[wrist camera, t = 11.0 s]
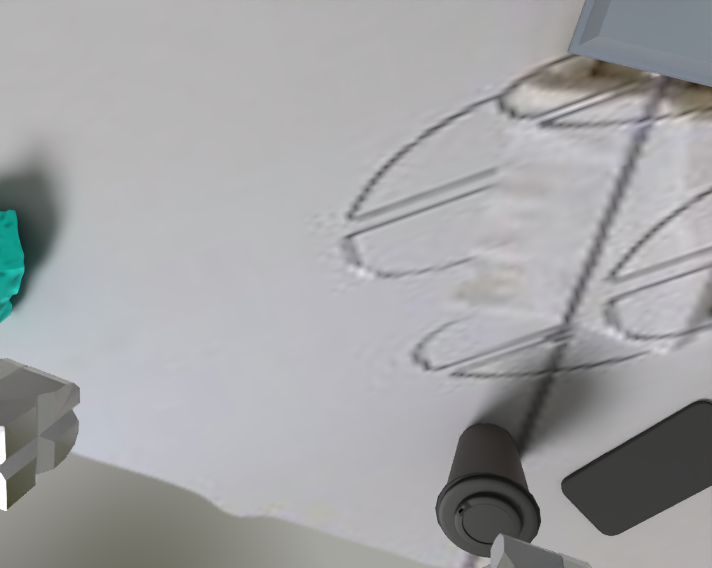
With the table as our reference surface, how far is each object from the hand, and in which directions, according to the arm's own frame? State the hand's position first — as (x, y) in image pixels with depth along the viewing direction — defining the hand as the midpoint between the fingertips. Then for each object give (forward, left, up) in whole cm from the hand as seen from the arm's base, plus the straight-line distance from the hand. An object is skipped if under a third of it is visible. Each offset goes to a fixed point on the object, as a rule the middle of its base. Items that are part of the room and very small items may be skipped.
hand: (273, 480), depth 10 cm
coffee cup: (+25, -5, -37) cm, 45 cm away
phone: (+31, +8, -38) cm, 49 cm away
